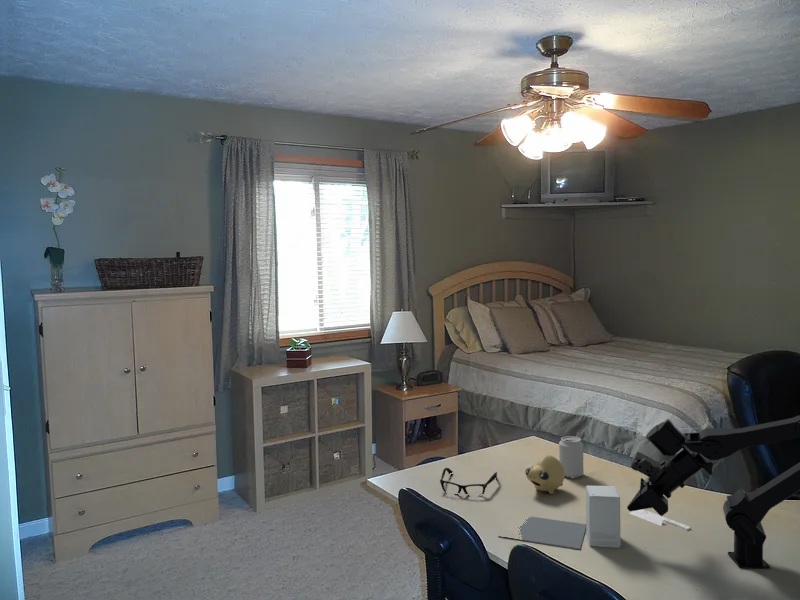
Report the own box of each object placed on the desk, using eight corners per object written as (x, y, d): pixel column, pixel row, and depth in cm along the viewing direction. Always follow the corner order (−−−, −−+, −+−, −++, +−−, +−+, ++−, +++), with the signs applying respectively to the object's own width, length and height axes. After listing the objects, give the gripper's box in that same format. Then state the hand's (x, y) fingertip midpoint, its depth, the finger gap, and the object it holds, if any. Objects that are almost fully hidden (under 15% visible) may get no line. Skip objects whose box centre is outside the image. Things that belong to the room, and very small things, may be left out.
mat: (586, 525, 157) (586, 524, 156) (580, 549, 144) (580, 548, 144) (510, 514, 164) (510, 513, 164) (498, 537, 152) (498, 535, 152)
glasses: (435, 497, 181) (435, 481, 181) (449, 474, 198) (448, 459, 197) (490, 502, 176) (489, 486, 175) (499, 478, 193) (499, 463, 192)
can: (554, 473, 195) (554, 437, 194) (572, 469, 198) (572, 433, 197) (570, 480, 188) (569, 443, 187) (588, 476, 191) (588, 439, 190)
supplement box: (621, 548, 144) (620, 497, 143) (589, 546, 145) (588, 495, 144) (616, 534, 151) (616, 485, 150) (585, 532, 152) (585, 484, 152)
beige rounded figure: (519, 492, 180) (519, 457, 179) (543, 481, 188) (543, 448, 187) (547, 501, 172) (546, 465, 172) (571, 490, 180) (570, 455, 179)
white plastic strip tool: (679, 535, 150) (679, 531, 150) (627, 515, 163) (627, 511, 163) (690, 530, 153) (690, 525, 153) (639, 510, 165) (639, 506, 165)
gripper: (652, 432, 151) (606, 470, 156) (651, 456, 134) (600, 497, 139) (687, 466, 148) (639, 504, 153) (690, 495, 131) (636, 536, 136)
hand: (628, 509), depth 145 cm, fingers closed
